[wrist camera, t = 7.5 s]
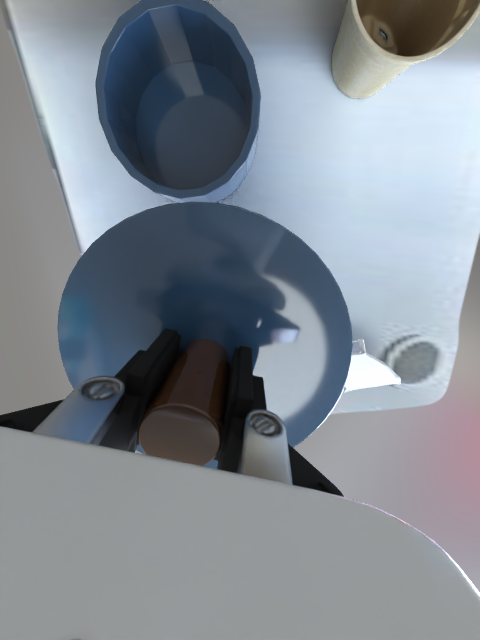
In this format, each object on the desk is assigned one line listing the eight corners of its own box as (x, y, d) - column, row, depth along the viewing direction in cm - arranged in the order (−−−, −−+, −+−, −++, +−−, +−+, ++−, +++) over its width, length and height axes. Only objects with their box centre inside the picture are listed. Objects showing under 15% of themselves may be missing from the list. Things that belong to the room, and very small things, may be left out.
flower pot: (338, -25, 22) (394, -183, 13) (432, 14, 22) (540, -114, 14) (300, 100, 25) (326, 33, 16) (384, 131, 25) (449, 82, 17)
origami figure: (303, 379, 35) (312, 401, 31) (314, 326, 33) (325, 341, 28) (384, 386, 36) (405, 409, 31) (401, 334, 33) (427, 350, 28)
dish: (137, 38, 23) (98, -33, 17) (272, 77, 24) (281, 23, 18) (126, 189, 28) (92, 175, 22) (241, 218, 28) (239, 214, 22)
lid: (75, 166, 10) (-133, 81, 5) (391, 249, 11) (541, 264, 5) (72, 426, 15) (-34, 543, 9) (294, 472, 16) (321, 603, 10)
